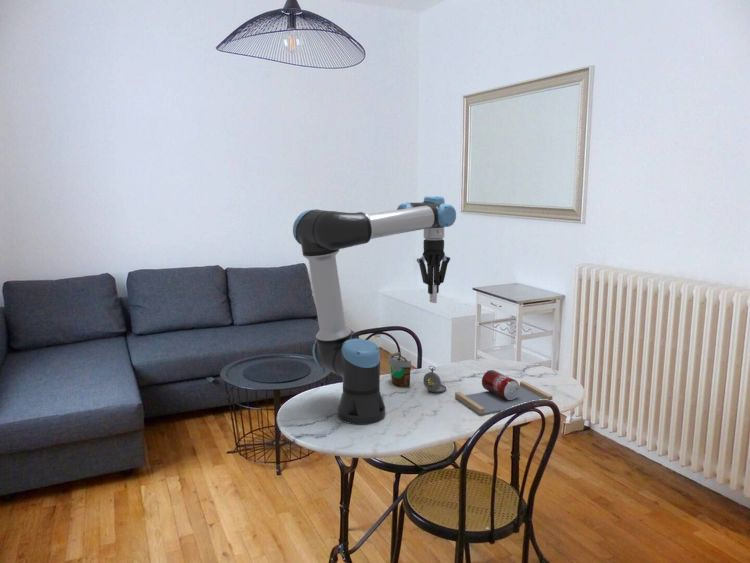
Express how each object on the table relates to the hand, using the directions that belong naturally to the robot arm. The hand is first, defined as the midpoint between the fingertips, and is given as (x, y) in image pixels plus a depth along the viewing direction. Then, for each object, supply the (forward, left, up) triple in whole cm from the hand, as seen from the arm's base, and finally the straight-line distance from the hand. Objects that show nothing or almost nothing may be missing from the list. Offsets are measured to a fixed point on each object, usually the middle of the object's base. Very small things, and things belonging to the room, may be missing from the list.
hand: (433, 302), depth 211 cm
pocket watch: (-7, -15, -29) cm, 33 cm away
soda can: (+10, -22, -24) cm, 35 cm away
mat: (+10, -32, -28) cm, 44 cm away
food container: (-16, -3, -29) cm, 33 cm away
